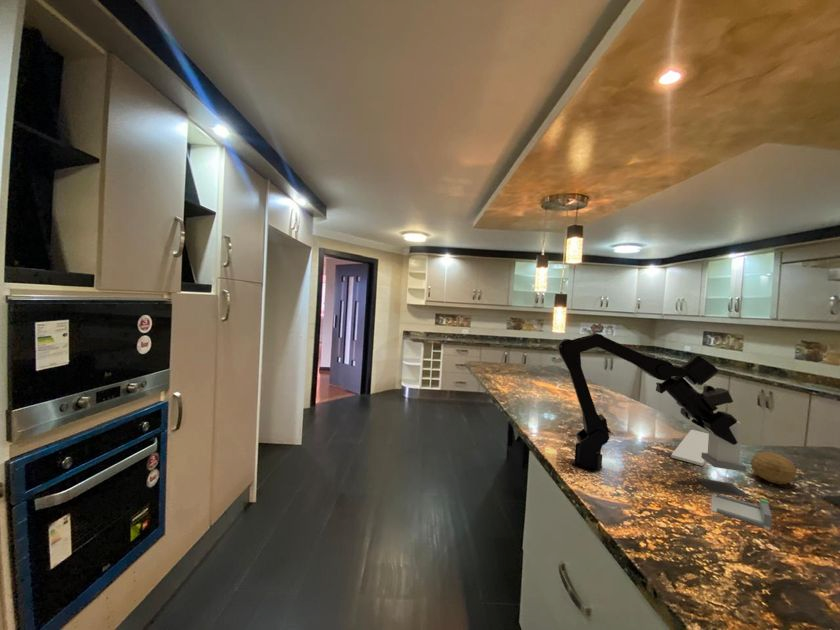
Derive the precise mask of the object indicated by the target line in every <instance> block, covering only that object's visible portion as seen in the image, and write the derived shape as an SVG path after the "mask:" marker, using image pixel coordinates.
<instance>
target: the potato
mask: <svg viewBox="0 0 840 630" xmlns="http://www.w3.org/2000/svg"><path fill="white" fill-rule="evenodd" d="M750 465H751V469H752V471H753V472H754V473H755V475H757V476H758V477H760V478H762V479H764V480H765V481H767V482H769V483H773V484H777V485H784V484H789V483H792V482H793V481H794V479H795V477H796V476H797V468H796V466H795V465H794V463H793V462H792V461H790V460H789V459H788V458H786V457H784V456H782V455H780V454H779V453H776V452H771V451H761V452H758V453H757V454H755V455H754V456H753V458H752V459H751V460H750Z"/></svg>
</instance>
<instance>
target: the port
mask: <svg viewBox="0 0 840 630" xmlns="http://www.w3.org/2000/svg"><path fill="white" fill-rule="evenodd" d="M710 507H711V508H710V509H711V510H710V511H711V512H712V513H716V514H719V515H723V516H725V517H728V518H732V519H736V520H739V521H742V522H745V523H747V524H750V526H751V525H752V526H755V527H758V528H761V529H765V530H768V531H771V530H772V523H773V515H772V511H771V510H770V509H771V508H770V506H769V501H768V500H767V499H764V498H761V497H760V498H759V505H758V504H755V503H751V502H748V501H743V500H741V499H738V498H733V497H731V496H730V497H729V496H726V495H724V494H721V493H716V495H715V494H713V493H712V494H711V505H710Z"/></svg>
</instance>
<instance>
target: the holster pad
mask: <svg viewBox="0 0 840 630" xmlns="http://www.w3.org/2000/svg"><path fill="white" fill-rule="evenodd" d="M693 478H694V479H696V480H697V482H699V483H700V484H701V485H702V486H703V487H704V488H705V489H706V490H708V491H709V492H711V493H716V494H721V495H729V496H735V497H740V498H748V499H751V497H750V496H749V495H748V494H746V493H745V492H744V491H742V490H741V489H740V488H738V487H737V486H736V485H735V484H734V483H732V482H726V481H720V480H719V481H718V480H713V479H706V478H700V477H695V476H694V477H693Z"/></svg>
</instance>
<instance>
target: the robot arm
mask: <svg viewBox="0 0 840 630" xmlns="http://www.w3.org/2000/svg"><path fill="white" fill-rule="evenodd" d="M594 348H599V349H601V350H602V351H605V352H607V353H609V354H611V355H614V356H616V357H618V358H620V359H622V360H624V361H626V362H628V363H630V364H632V365H634V366H636V367H637V368H638V369H639V370H641V371H642V372H644V373H645V374H647V375H649V376H650V377H651V378H654V379H657V380H659V381H662V382H656V383H655V384H656V386H655V392H657V393H659V394H664V393H665V392H667V394H669V396H671V397H672V398H673V399H674V400H675V402H676V404H677V405H678V406H679V407H680V414H681V415H682V416H683V417H684V418H685V419H687V420H688V421H689V420H690V421H691V422H692V423H693V424H695V425H697V426H698V427H700V428H702V429H703V430H704V429H705V431H707V432H708V433H709V432H710V433H712V434H714V435H716V436H718V437H720V438H722V439H724V440H726V441H727V442H729V443H731V444H733V445H735V444H737V441H736V439H735V437H734V435H733V433H732V432H731V430H730V428H729V427H731V426H732V425H734V424H735V423H737V421H738V420H737V419H736V418H735V417H734V416H733V415H732V414H731V413H727V412H725V411H720V410H718V409H719V408H718V406H721V405H725V404H732V403H733V402H734V400H733V398H732V395H731V394H730V391H729V390H728V389H726V388H722V387H720V388H719V387H716V388H715V387H713V386H711V385H710V384H709V385H705V386H703V384H705V383H706V382H708V381H709V380H710V379H712V378H714V377H715V376H716V375H718V374H719V373H720V371H719V370H718V368H717V367H716V366H715V365H714V364H712V363H711V362H709V361H708V360H706V359H704V358H703V357H701V355H698V354H695V355H693V356H692V357H691V358H690V359H689V360H688V361H686V362H685V363H683V364H682V365H677V364H673V363H672V362H670V361H669V360H665V359H662V358H660V357H659V358H658V357H654V356H651V355H648V354H644V353H641V352H639V351H637V350H634V349H632V348H630V347H628V346H625V345H624V344H621V343H619V342H616V341H614V340H613V339H610V338H608V337H606V336H605V335H603V334H601V333H599V332H598V333H595V332H593V333H591V334H589V335H586V336H581V337H577V338H573V339H571V338H562V339H560V341H558V343H557V345H556V350H557V352H558V354H559V356H560V358H561V360H562V362H563V363H564V365H565V367H566V368H567V371H568V374H569V376H570V379H571V383H572V385H573V389H574V392H575V394H576V395H575V396H576V397H577V401H578V404H579V406H580V408H581V409H580V410H581V412H582V423H583V424H582V425H583V428H582V429H581V430H580V431H578V432H577V433H576V434H575V436H576V439H577V441H578V442H577V443H575V446H574V447H575V450H574V451H575V452H574V461H573V462H571V465H572V466H573V467H577V468H580V469H582V470H584V471H587V472H590V473H595V472H597V471H599V470H601V469H603V465H602V464H603V454H602V447H603V446H604V445H605V444H607V443H608V441H609V440H610V433H611V432H612V431H610V429H609V427H608V422H607V419H606V417H605V416H604V415H603V414H602V413H600V414H598V413H597V410H596V407H595V404H594V401H593V399H592V398H593V397H592V395H591V392H590V389H589V386H588V383H587V380H586V377H585V374H584V371H583V369H582V358H581V353H583V352H586V351H589V350H591V349H594ZM696 384H697V385H698V386H703V391H702V392H698V391H697V390H696V389H695V388H694V387H693V386H695V385H696ZM692 385H693V386H692ZM717 410H718V411H717ZM715 411H716V412H715Z"/></svg>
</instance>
